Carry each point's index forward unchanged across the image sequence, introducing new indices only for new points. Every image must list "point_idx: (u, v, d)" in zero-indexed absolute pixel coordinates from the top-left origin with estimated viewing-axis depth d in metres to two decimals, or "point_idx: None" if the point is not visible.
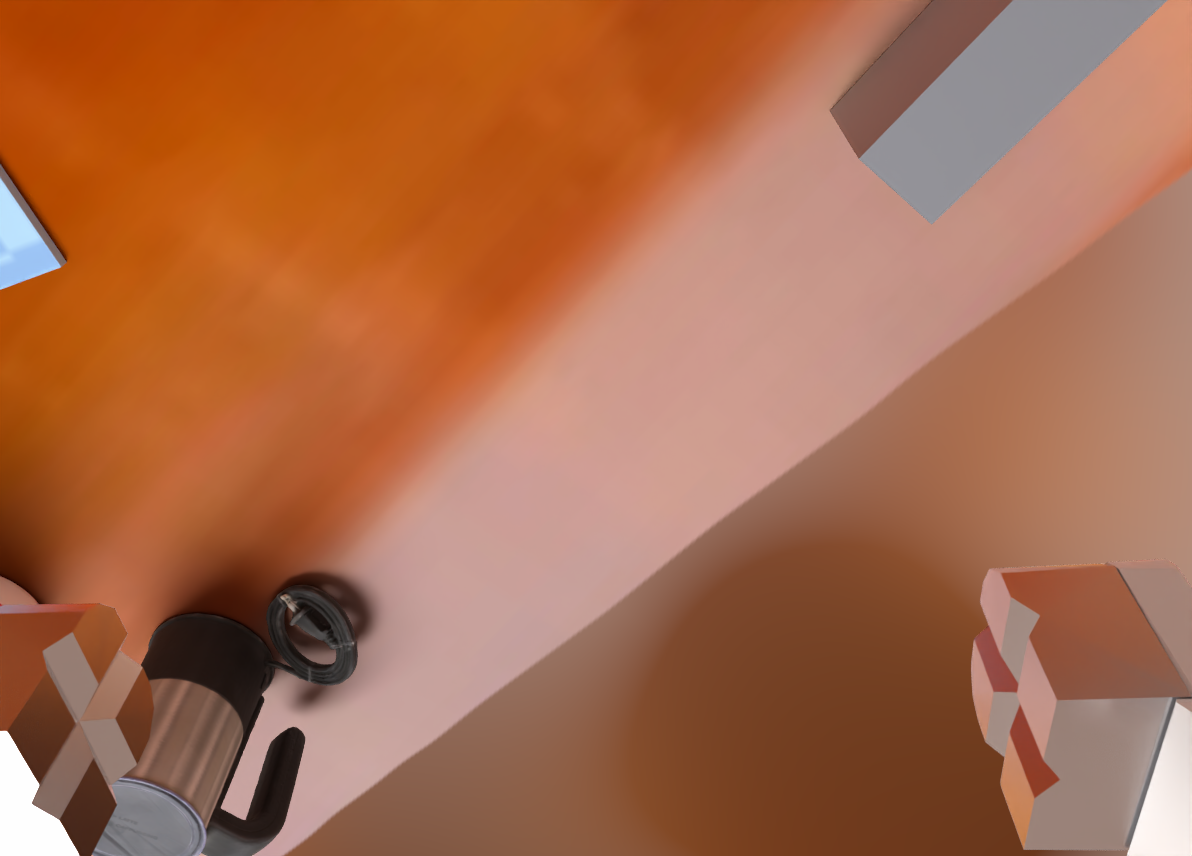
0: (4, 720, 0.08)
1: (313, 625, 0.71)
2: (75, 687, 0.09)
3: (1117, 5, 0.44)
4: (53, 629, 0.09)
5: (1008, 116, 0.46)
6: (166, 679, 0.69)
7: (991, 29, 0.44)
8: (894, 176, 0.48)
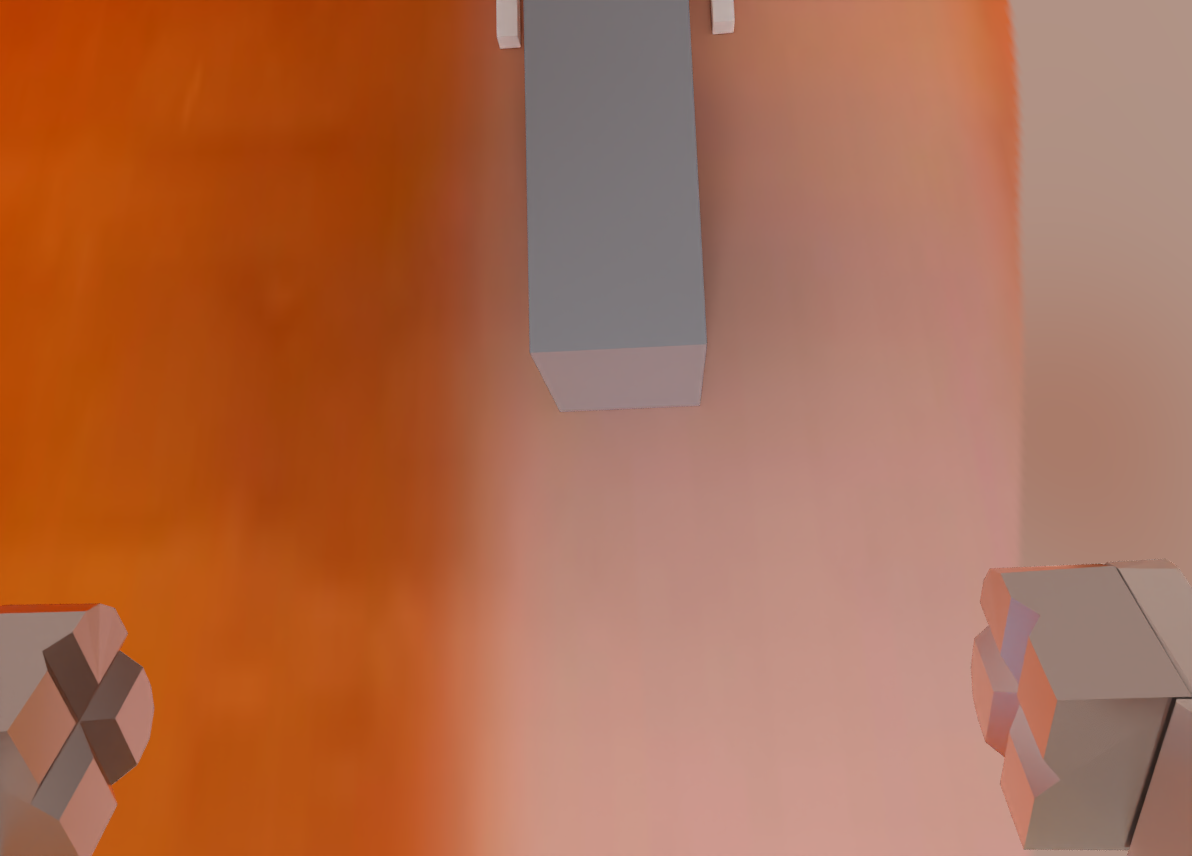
0: (4, 720, 0.08)
1: None
2: (75, 687, 0.09)
3: None
4: (52, 628, 0.09)
5: (653, 162, 0.30)
6: None
7: (532, 108, 0.31)
8: (595, 333, 0.29)
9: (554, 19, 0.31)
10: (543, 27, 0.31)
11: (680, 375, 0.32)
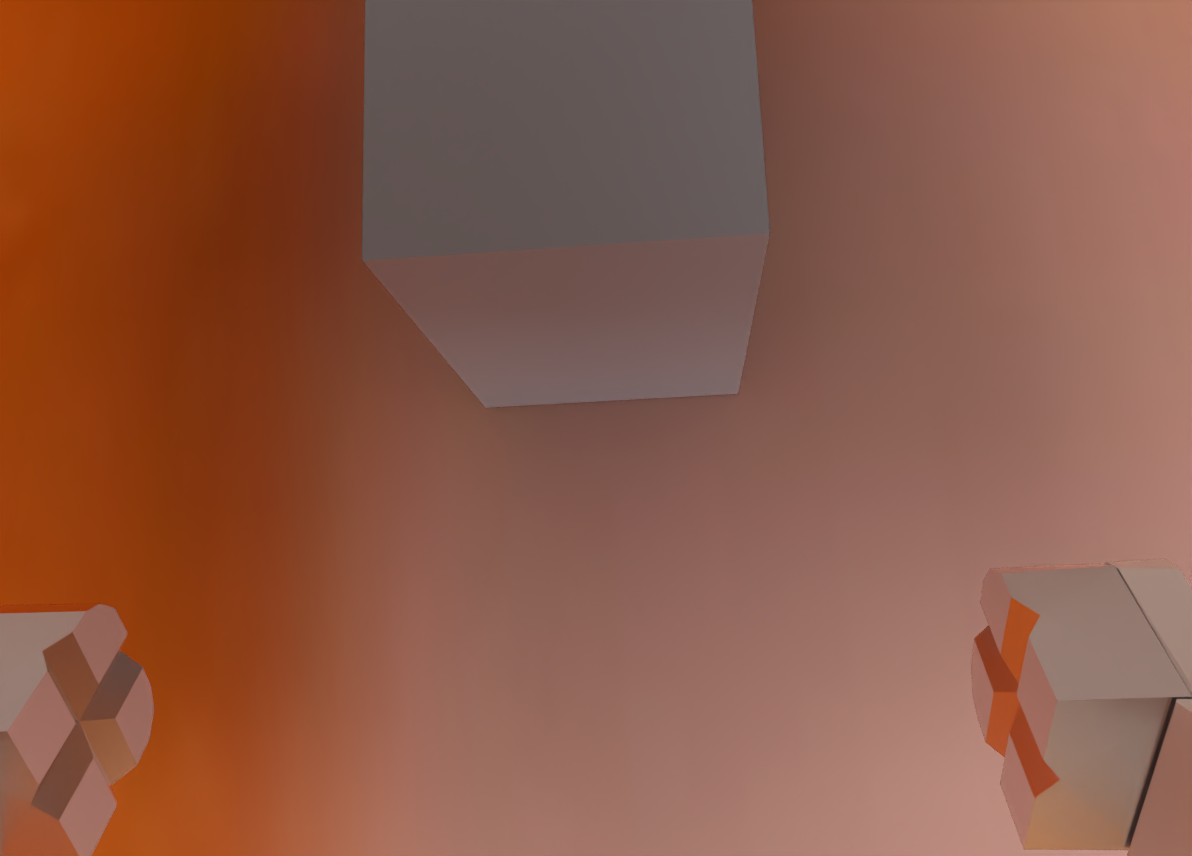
0: (5, 719, 0.08)
1: None
2: (75, 687, 0.09)
3: None
4: (52, 629, 0.09)
5: None
6: None
7: None
8: (512, 215, 0.13)
9: None
10: None
11: (705, 325, 0.16)
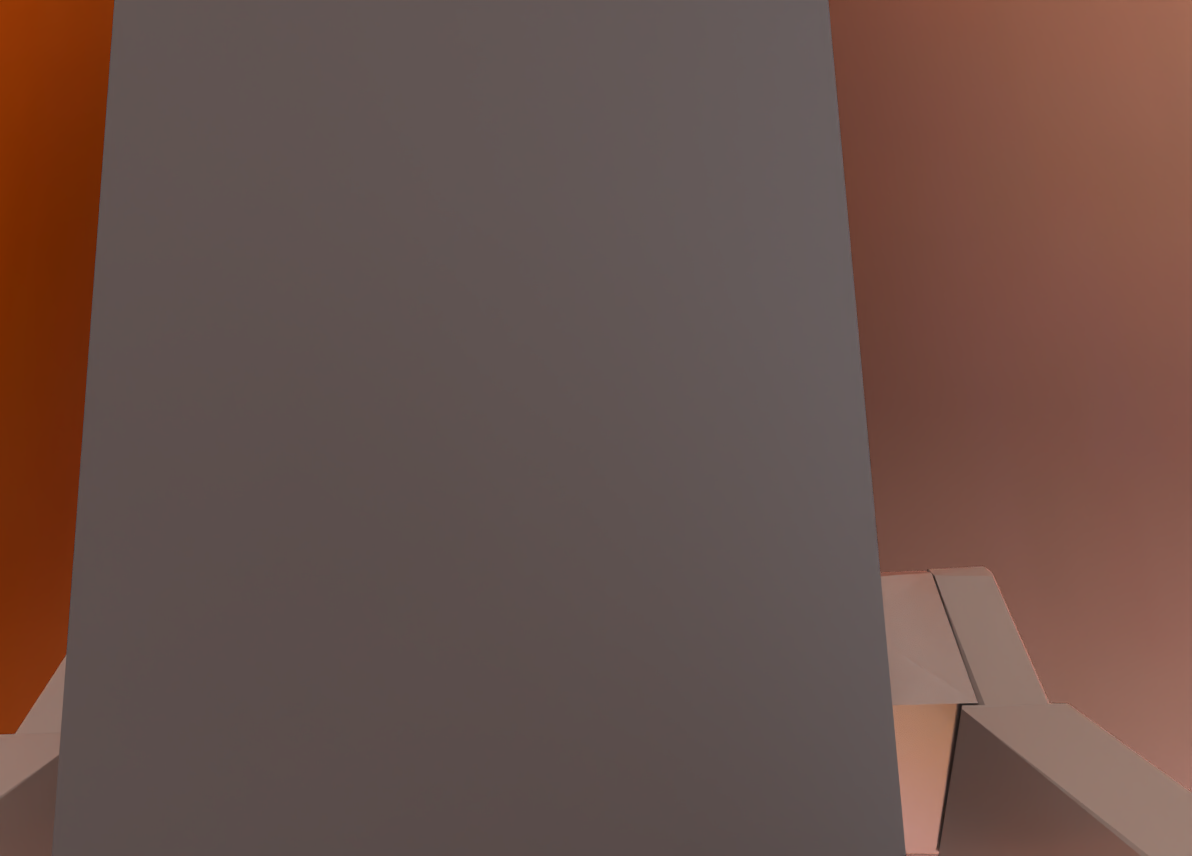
0: None
1: None
2: None
3: None
4: None
5: (647, 165, 0.07)
6: None
7: None
8: None
9: None
10: None
11: None
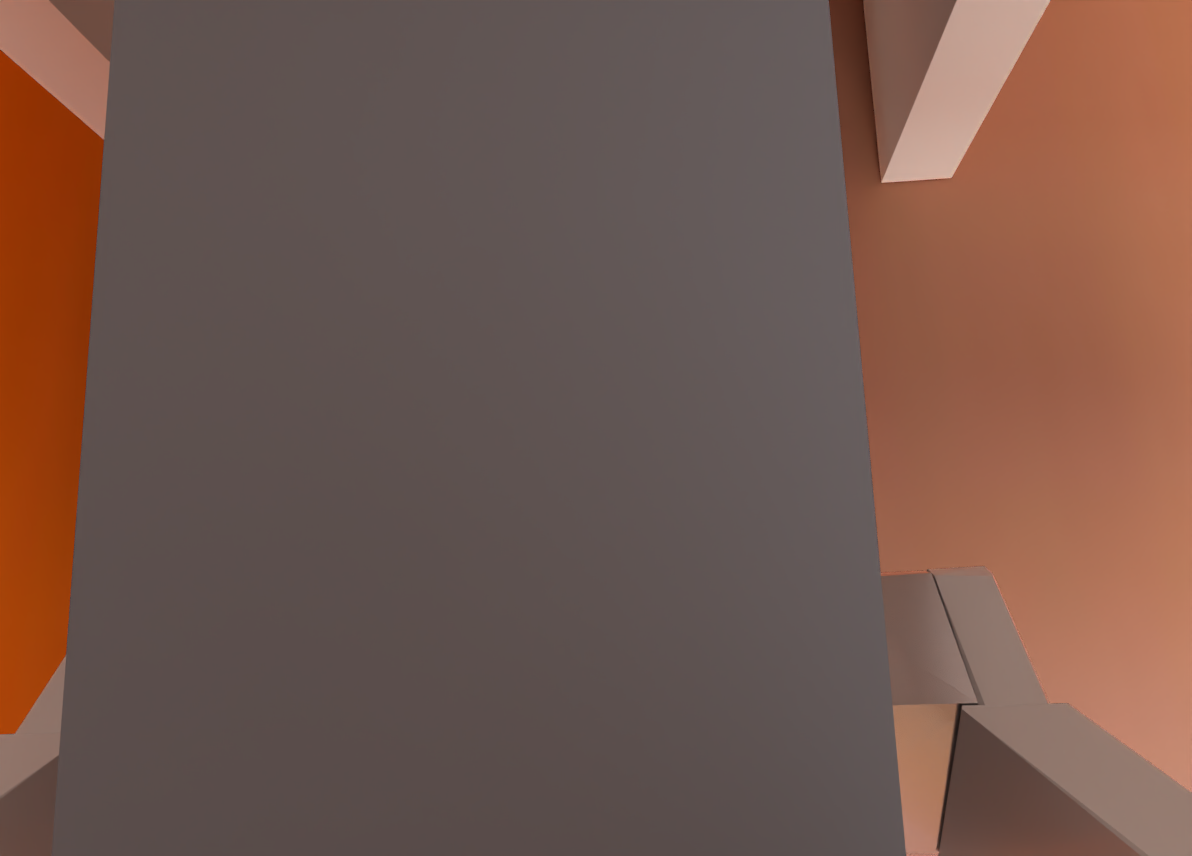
0: None
1: None
2: None
3: None
4: None
5: (647, 165, 0.07)
6: None
7: None
8: None
9: None
10: None
11: None
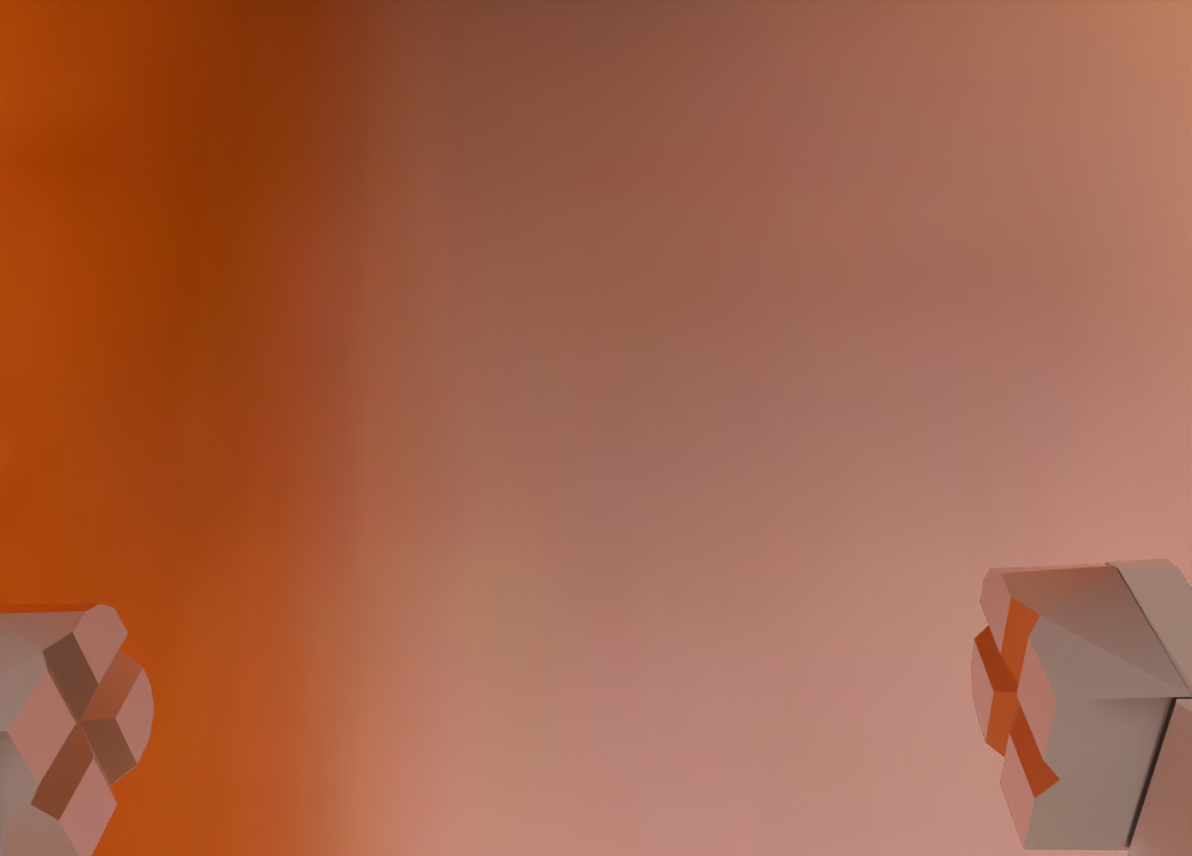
0: (5, 719, 0.08)
1: None
2: (75, 687, 0.09)
3: None
4: (53, 629, 0.09)
5: None
6: None
7: None
8: None
9: None
10: None
11: None
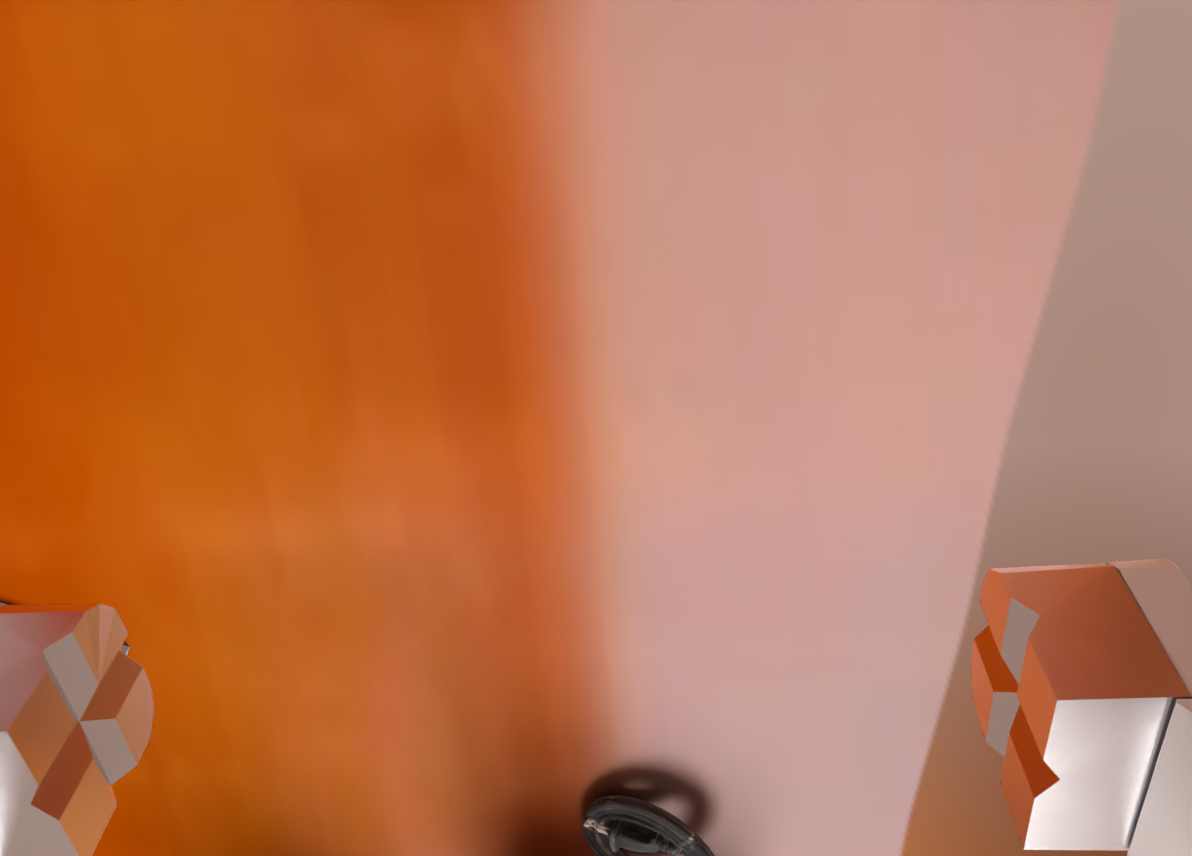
0: (4, 718, 0.08)
1: (635, 842, 0.54)
2: (75, 687, 0.09)
3: None
4: (52, 629, 0.09)
5: None
6: None
7: None
8: None
9: None
10: None
11: None
